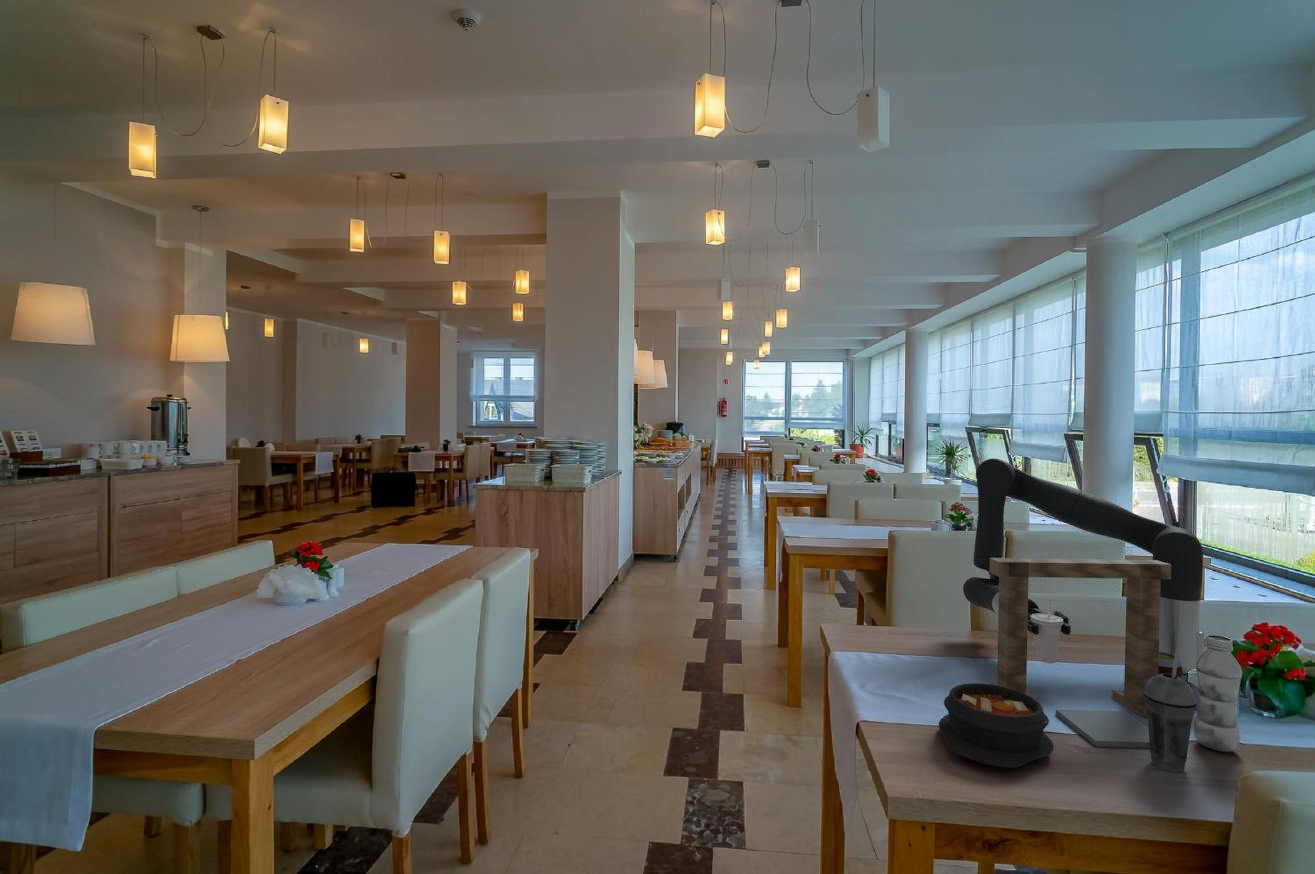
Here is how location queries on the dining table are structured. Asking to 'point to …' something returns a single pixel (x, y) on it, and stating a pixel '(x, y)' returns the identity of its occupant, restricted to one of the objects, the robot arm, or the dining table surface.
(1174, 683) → the beverage cup
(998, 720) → the casserole
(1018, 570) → the archway
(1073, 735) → the dining table surface
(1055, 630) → the smoothie
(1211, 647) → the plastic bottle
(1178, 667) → the mate gourd
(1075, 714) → the mat
